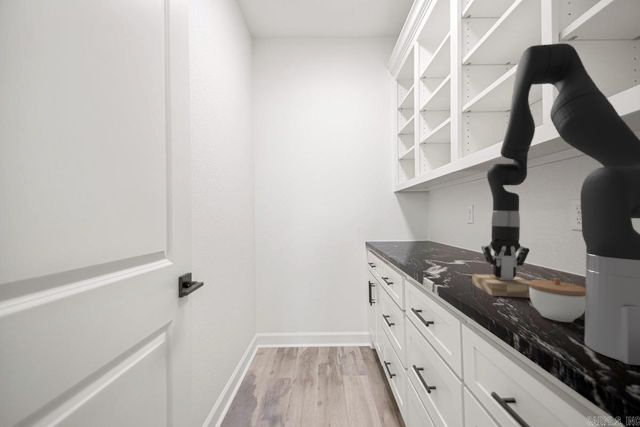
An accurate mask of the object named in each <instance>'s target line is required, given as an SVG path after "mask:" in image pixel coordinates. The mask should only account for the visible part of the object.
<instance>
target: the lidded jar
mask: <svg viewBox="0 0 640 427" xmlns="http://www.w3.org/2000/svg"><path fill="white" fill-rule="evenodd" d="M528 281H529V294H530V297H529V299H530V303H531V304H532V306H533V308H535V310H536V311H537V312H539V315H540V316H541V317H543V318H545V319H549V320H551V321H556V322H560V323H561V322H563V323H572V322H574V321H575V320H576V319H578V318H580V317H581V316H582V315H584V314H585V286H581V285H578V284H575V283H569V282H564V281H561V279H560V278H558V277H554V278H553V280H551V279H550V280H548V279H532V280H528Z"/></svg>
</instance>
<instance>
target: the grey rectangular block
mask: <svg viewBox="0 0 640 427" xmlns="http://www.w3.org/2000/svg"><path fill="white" fill-rule="evenodd" d="M496 255H497V254H496ZM497 256H499V255H497ZM513 262H514V259H512V256H503V259H501V264H500V266H499V267H501V268H500V278H496V280H498V281H506V282H513Z"/></svg>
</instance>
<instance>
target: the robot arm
mask: <svg viewBox="0 0 640 427" xmlns="http://www.w3.org/2000/svg"><path fill="white" fill-rule="evenodd" d="M515 69H516V70H515V75H514V81H513V89H512V95H511V102H510V112H509V117H508V124H507V127H506V131H505V135H504V138H503V142H502V145H501V148H500V156H501V157H503V158H505V159H508V160H513V163H495V164H492V165H491V166H490V167H489V168H488V169H487V173H486V176H487V181H488V186H489V187H490V192H491V195H492V215H491V223H490V224H491V242H490V243H489V245H482V246H481V250H482V253H483V255H484V258H485V260H486V263H488V264H490V265H492V273H493V274H492V275H495V277H496V278H500V268H501V267H499V266H500V264H501V259H503V256H512V259H514V262H513V279H514V277H515V276H517V267H519V266H523V265H524V264H525V261H526V259H527V256H528V254H530V253H529V252H530V248H528V247H524V246H521V243H520V242H519V241H520V236H521V235H520V232H521V230H520V228H521V216H520V196H519V194H518V193H515V192H512V191H508V190H506V189H505V187H504V186H519V185H521V184H522V183H524V182H525V180H526V179H527V175H528V156H529V155H528V154H529V150H530V147H531V145H532V143H533V140H534V136H535V133H536V125H535V120H534V117H533V115H532V114H533V113H532V110H531V108H530V107H531V106H530V103H529V96H530V92H531V88H532V86H533V85H547V84H548V85H549V84H550V85H553V86H554V87H555V88H556V89H557V91H558V94H557V96H556V98H555V100H553V104H552V105H551V109H550V115H549V116H550V120H551V122H552V124H553V126H554V128H555V130H556V131H557V134H558V135H559V136H560V138H562V140H563V141H564V142H565V143H566V144H568V145H570V146H571V147H572V148H574V149H576V150H578V151H579V152H581V153H582V154H585V155H586V156H588V157H590V158H592V159H593V160H595V161H597V162H598V163H600V164H601V165H602V166H603V167H598V168H597V169H593V170H592V171H590V173H588V175H587V176H586V177H585V178H584V180H583V181H582V182H583V183H582V186H581V190H580V216H581V233H582V234H581V235H582V238H583V241H584V243H585V246H586V248H585V249H586V250H585V251H586V252H585V286H584V288H585V311H584V345H586V347H588V348H589V349H590V350H592V351H594V352H596V353H598V354H601V355H603V356H606V357H608V358H611V359H615V360H618V361H620V362H622V363H624V364H626V365H633V366H640V232H638V231H637V230H635V228H634V225H633V221H632V219H640V139H639V137H638V136H637V135H636V134H635V133H634V131H633V130H632V129H631V128H630V126H629V125H628V124H627V123H626V122H625V121H624V120H623V119H622V117H621V116H620V115H619V113H618V111H617V110H616V109H615V107H614V106H613V104H612V103H611V102H610V100H609V99H608V98H607V97H606V95H605V94H604V93H603V92H602V91H601V90H600V89H599V88H598V86H597V84H596V83H595V82H594V80H593V79H592V78H591V76H590V75H589V73H588V71H587V70H586V67H585V66H584V64H583V62H582V58H580V55H579V53H578V51H577V50H576V49H575V47H574V46H573V45H571V44H568V43H564V42H563V43H552V44H551V43H550V44H537V45H531V46H529V47H528V48H526V49H525V50H524V52H522V54H521V56H520V58H519V60H518V63H517V66H516V68H515ZM492 250H493V251H494V253H493V254H492V253H491V252H492ZM517 252H518V254H516V253H517ZM496 254H497V255H499V256H497V255H496Z"/></svg>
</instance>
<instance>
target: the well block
mask: <svg viewBox="0 0 640 427" xmlns="http://www.w3.org/2000/svg"><path fill="white" fill-rule="evenodd" d="M529 281H530V280H527V279H524V278H523V277H519V276H518V275H516V276H515V277H514V279H513V282H506V281H498V280H496V277H495V275H494V274H487V273H472V274H471V284H472V285H474V286H475V287H477V288H478V289H480V290H482V291H484V292H485V293H487V294H488V295H490V296H494V297H497V296H498V297H512V298H513V297H515V298H530V294H529Z"/></svg>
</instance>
